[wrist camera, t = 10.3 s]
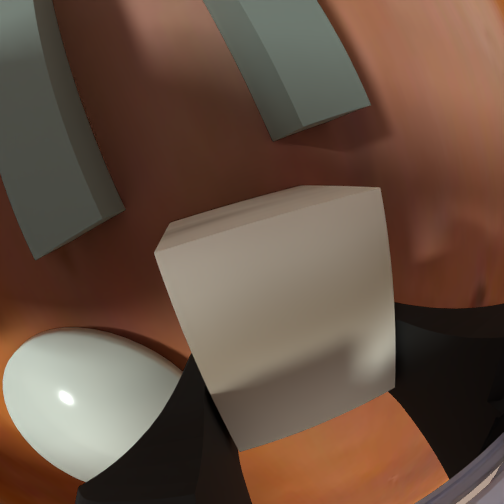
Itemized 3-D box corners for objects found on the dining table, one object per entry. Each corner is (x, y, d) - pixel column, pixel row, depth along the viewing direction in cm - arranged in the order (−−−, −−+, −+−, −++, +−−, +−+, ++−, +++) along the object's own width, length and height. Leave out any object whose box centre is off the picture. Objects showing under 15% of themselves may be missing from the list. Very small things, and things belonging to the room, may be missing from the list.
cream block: (329, 323, 13) (394, 387, 8) (218, 362, 12) (239, 451, 7) (301, 185, 11) (380, 187, 6) (169, 222, 10) (154, 253, 5)
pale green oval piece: (207, 488, 14) (208, 498, 13) (38, 461, 11) (35, 470, 10) (226, 343, 12) (229, 353, 11) (-10, 306, 9) (-19, 313, 8)
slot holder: (329, 121, 11) (371, 104, 8) (71, 241, 10) (35, 260, 7) (202, -87, 7) (209, -123, 4) (5, -4, 6) (-19, -29, 3)
